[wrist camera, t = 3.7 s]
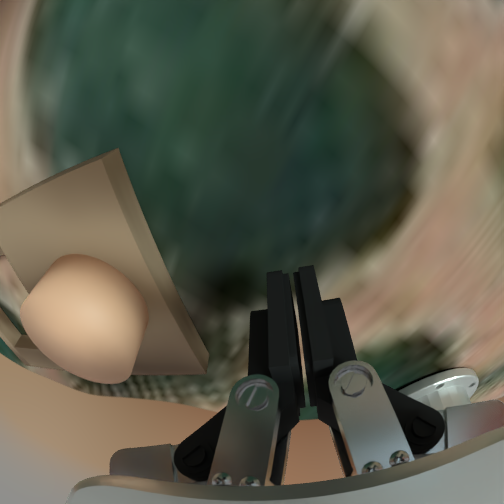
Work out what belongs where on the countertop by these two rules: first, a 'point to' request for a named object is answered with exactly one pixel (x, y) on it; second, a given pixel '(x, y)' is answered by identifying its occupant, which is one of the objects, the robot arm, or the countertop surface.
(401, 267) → the countertop surface
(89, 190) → the tan piece
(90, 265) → the tan round bun
